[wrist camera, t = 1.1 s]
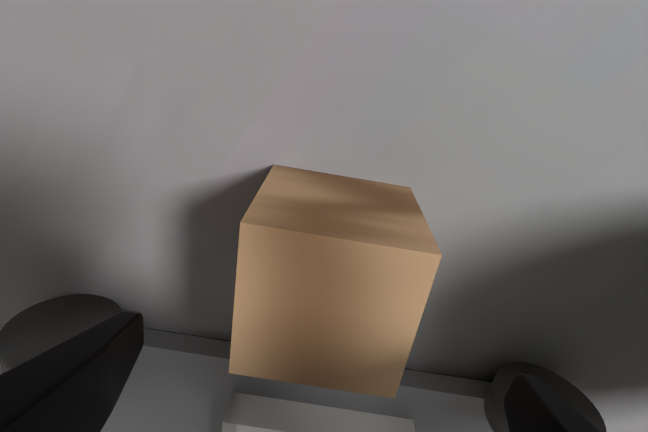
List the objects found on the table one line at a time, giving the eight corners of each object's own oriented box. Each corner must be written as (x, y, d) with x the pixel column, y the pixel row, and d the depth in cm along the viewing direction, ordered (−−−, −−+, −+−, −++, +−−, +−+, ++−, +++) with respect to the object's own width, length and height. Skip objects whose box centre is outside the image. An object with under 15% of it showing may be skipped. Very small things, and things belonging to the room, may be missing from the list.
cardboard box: (409, 186, 14) (442, 255, 9) (379, 298, 16) (394, 398, 11) (273, 164, 14) (239, 222, 9) (261, 278, 16) (228, 372, 11)
